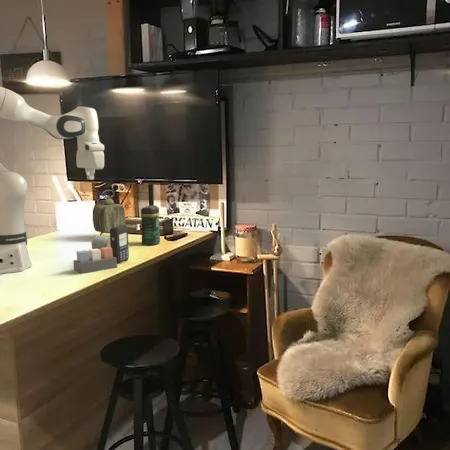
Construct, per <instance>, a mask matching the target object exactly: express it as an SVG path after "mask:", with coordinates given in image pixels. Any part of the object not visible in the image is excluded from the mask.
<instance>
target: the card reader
mask: <svg viewBox="0 0 450 450" xmlns="http://www.w3.org/2000/svg"><path fill="white" fill-rule="evenodd" d="M128 230H129V229H128V226H127V225H126V224H125V225H119V226H116V227H113V228H111V229H110V233H109V237H110V245H111V248H112V252H113V257H116V258H117V265H118V264H122V263H123V262H124V263H125V261H128V260H129V258H130V253H129V231H128Z"/></svg>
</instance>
